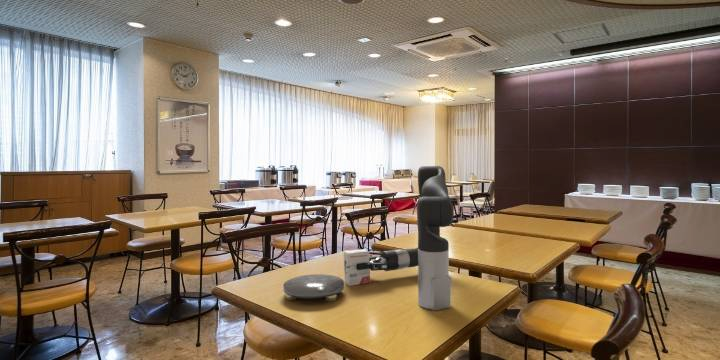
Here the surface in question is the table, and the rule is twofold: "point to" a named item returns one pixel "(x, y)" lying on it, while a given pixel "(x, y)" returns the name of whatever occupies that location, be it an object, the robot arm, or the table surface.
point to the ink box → (350, 271)
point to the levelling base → (313, 287)
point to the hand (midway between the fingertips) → (354, 265)
